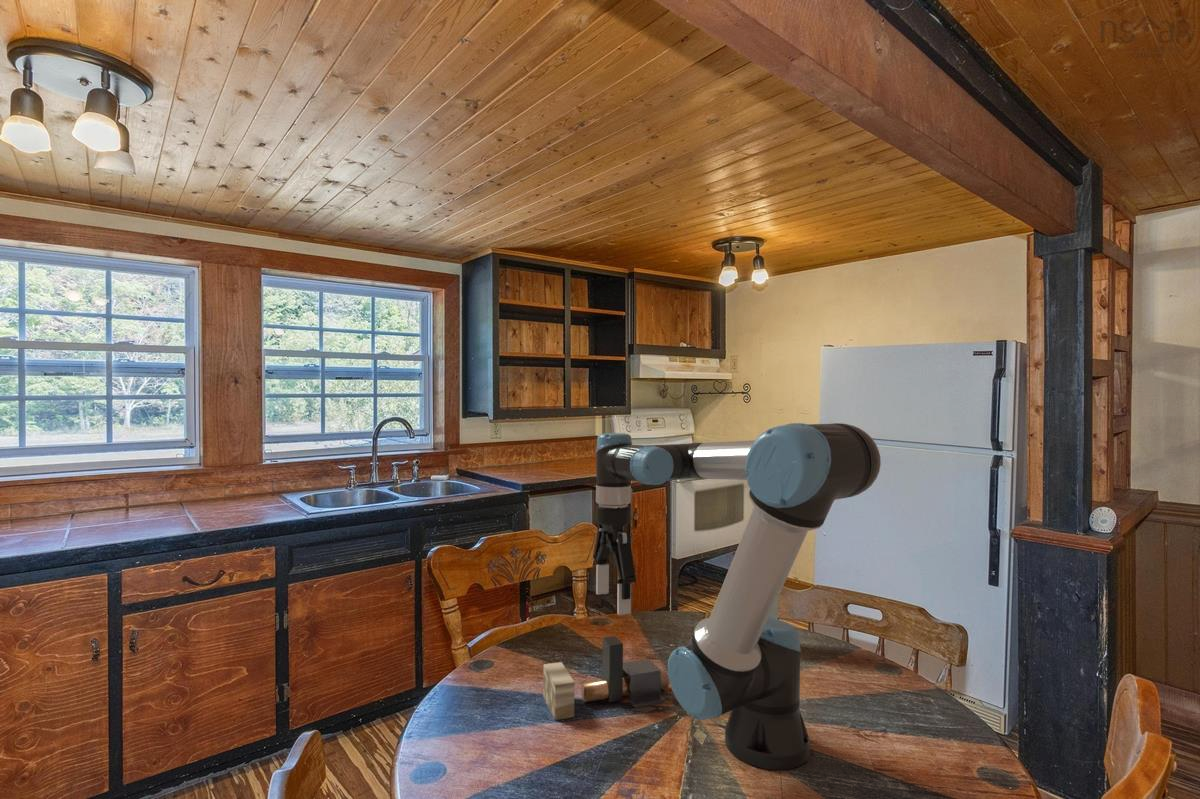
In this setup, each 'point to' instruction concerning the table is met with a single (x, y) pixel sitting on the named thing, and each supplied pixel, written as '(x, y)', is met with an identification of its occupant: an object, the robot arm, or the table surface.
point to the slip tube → (612, 675)
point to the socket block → (558, 690)
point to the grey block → (643, 682)
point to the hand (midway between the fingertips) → (612, 603)
